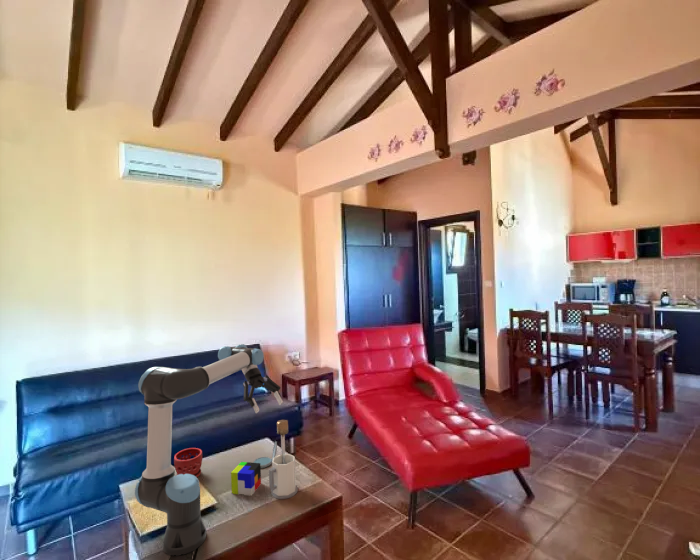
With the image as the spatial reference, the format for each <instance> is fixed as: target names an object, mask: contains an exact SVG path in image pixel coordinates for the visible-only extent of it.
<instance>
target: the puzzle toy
mask: <svg viewBox="0 0 700 560" xmlns="http://www.w3.org/2000/svg"><path fill="white" fill-rule="evenodd" d="M261 469H262V468H261V466H260V463H253V462H251V461H250V462H249V461H241V462H240V463H238V465H237V466H235V468H234V469H233V470H232V471H231V472H230V482H231V483H230V487H231V488H230V489H231V494H232V493H233V494H232V495H239V494H244V495H243V496H250V495H252V494H253V495H254V493H255V492H256V491H257V490H258V488H259V487H260V486H261V484H262V471H261ZM256 489H257V490H256ZM253 495H252V496H253Z"/></svg>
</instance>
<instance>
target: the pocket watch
mask: <svg viewBox="0 0 700 560" xmlns="http://www.w3.org/2000/svg"><path fill="white" fill-rule="evenodd" d="M277 444H278V441H276V440H275V441H274V445H273V449H272V453H271V455H272V457H269V456H260V457H257V458H255V459H254V460H253V462H252V463H260V466H261V469H265V468H267V467H270V465H271V466H272V461H273V458H274V457H276V456H277V451H278V450H277V449H278V445H277Z"/></svg>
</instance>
